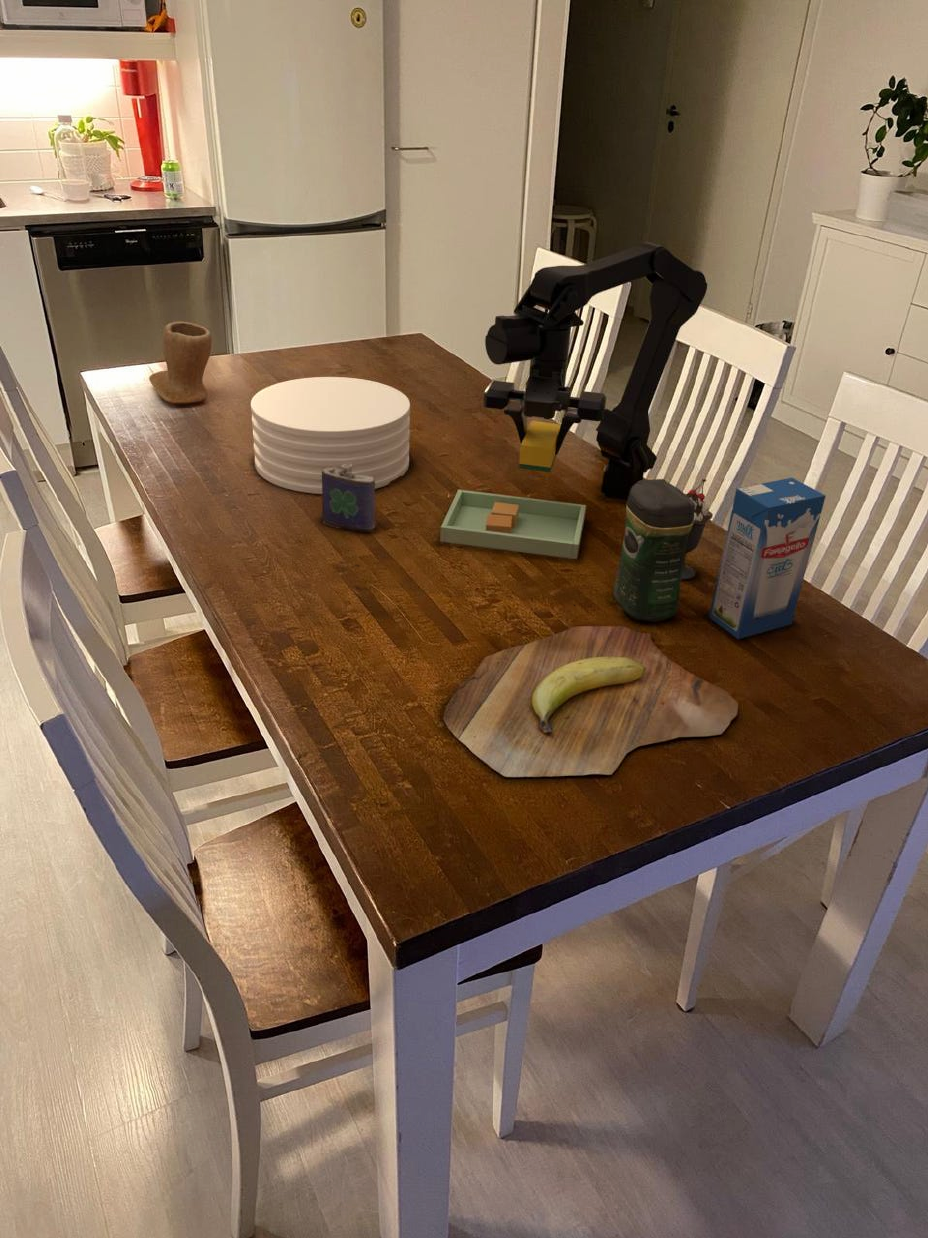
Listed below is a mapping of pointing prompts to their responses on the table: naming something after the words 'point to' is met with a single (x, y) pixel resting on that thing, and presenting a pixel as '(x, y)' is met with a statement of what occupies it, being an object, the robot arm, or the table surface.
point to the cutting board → (581, 703)
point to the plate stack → (329, 431)
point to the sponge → (539, 446)
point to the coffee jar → (653, 550)
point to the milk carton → (765, 556)
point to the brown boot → (183, 363)
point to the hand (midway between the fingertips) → (540, 451)
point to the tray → (535, 530)
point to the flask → (348, 499)
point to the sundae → (696, 527)
